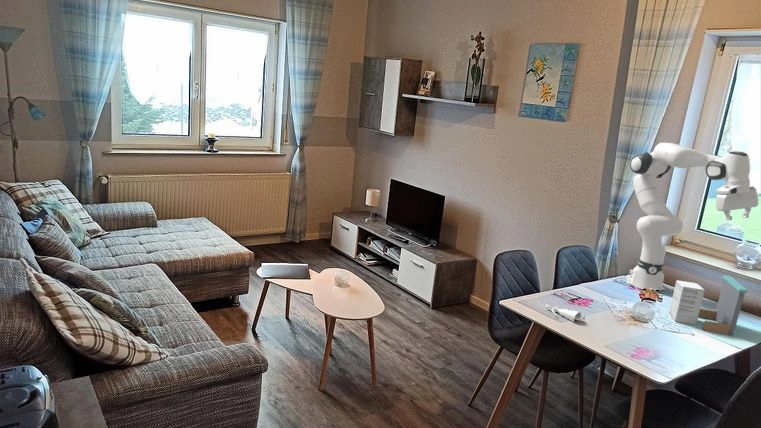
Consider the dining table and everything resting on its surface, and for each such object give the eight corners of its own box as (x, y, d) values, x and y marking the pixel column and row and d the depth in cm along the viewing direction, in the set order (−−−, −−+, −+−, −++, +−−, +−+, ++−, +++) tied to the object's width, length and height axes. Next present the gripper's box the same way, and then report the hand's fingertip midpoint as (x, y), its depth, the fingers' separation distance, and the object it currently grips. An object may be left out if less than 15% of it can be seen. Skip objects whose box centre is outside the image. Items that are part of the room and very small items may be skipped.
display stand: (691, 314, 252) (702, 271, 247) (719, 319, 250) (730, 276, 245) (704, 330, 234) (716, 285, 229) (734, 336, 232) (747, 290, 227)
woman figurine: (577, 317, 223) (539, 304, 236) (576, 327, 224) (538, 314, 237) (590, 311, 231) (552, 299, 244) (589, 321, 232) (551, 308, 245)
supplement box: (696, 325, 239) (705, 290, 235) (674, 321, 241) (683, 286, 237) (689, 317, 249) (697, 282, 245) (667, 313, 250) (676, 279, 246)
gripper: (749, 185, 244) (749, 215, 246) (713, 190, 239) (713, 220, 241) (762, 186, 238) (762, 217, 240) (725, 191, 233) (725, 222, 235)
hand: (737, 218), depth 240 cm, fingers open, 8 cm apart
